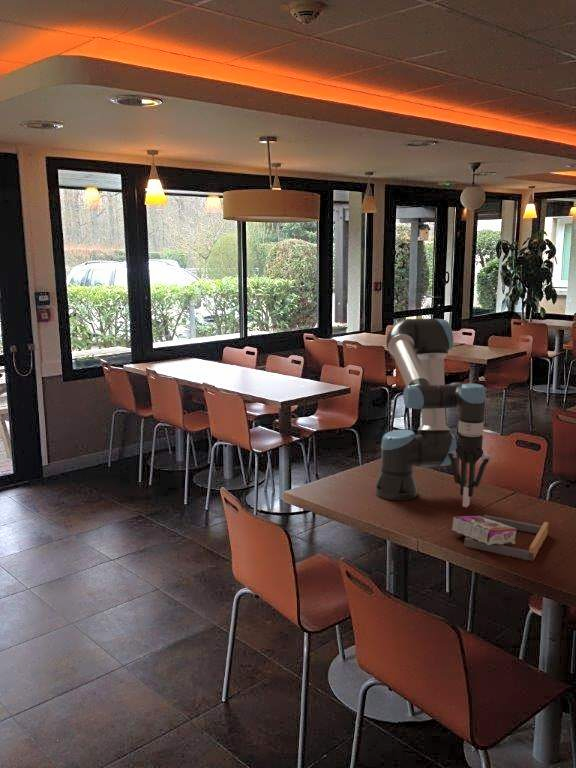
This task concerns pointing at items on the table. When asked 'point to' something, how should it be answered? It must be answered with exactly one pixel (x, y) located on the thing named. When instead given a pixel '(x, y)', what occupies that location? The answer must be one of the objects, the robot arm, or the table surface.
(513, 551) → the u-shaped frame
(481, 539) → the candy bar box
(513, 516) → the table surface
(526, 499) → the table surface
